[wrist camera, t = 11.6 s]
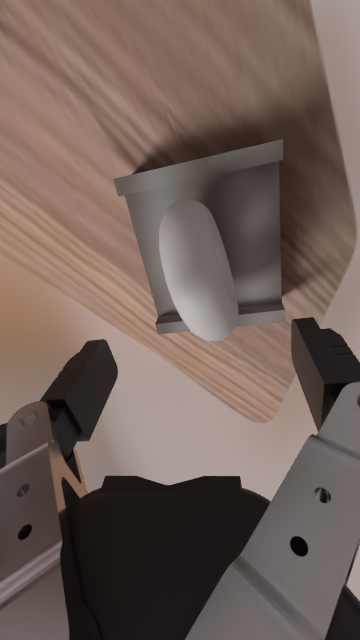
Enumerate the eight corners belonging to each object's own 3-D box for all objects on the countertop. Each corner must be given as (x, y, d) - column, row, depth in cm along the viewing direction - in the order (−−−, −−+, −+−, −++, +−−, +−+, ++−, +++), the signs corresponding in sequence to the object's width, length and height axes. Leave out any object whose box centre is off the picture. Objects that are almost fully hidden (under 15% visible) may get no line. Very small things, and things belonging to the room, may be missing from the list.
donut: (166, 200, 22) (131, 227, 13) (206, 183, 21) (197, 201, 12) (204, 305, 26) (197, 375, 18) (240, 295, 25) (250, 365, 17)
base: (166, 312, 31) (158, 334, 27) (130, 175, 24) (113, 179, 20) (276, 299, 28) (285, 321, 24) (271, 142, 21) (282, 138, 18)
